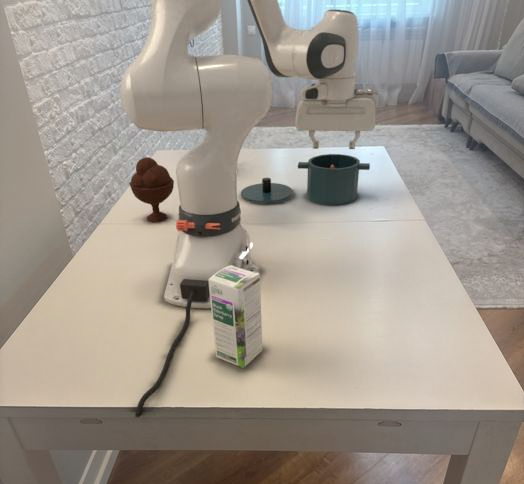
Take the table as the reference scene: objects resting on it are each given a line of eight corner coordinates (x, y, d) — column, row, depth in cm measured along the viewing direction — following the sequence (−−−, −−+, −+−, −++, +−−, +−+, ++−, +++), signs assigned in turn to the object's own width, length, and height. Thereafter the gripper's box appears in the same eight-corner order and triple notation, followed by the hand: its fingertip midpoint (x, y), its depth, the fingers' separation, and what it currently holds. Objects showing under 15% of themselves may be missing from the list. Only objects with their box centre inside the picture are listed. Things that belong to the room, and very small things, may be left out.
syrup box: (214, 357, 80) (205, 278, 71) (236, 339, 83) (230, 262, 75) (243, 369, 77) (237, 289, 68) (264, 350, 81) (261, 271, 72)
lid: (289, 206, 132) (289, 188, 129) (236, 204, 134) (235, 187, 131) (295, 187, 143) (295, 171, 140) (246, 186, 145) (245, 170, 142)
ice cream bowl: (128, 225, 125) (116, 164, 115) (149, 209, 133) (139, 151, 124) (166, 229, 122) (156, 167, 113) (185, 212, 130) (177, 153, 121)
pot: (366, 206, 130) (370, 170, 124) (295, 204, 133) (295, 168, 127) (366, 189, 140) (369, 154, 135) (300, 187, 143) (300, 153, 137)
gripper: (379, 87, 121) (373, 145, 130) (297, 87, 125) (297, 144, 133) (380, 91, 116) (374, 152, 125) (294, 92, 120) (294, 151, 128)
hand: (333, 148), depth 129 cm, fingers open, 8 cm apart
